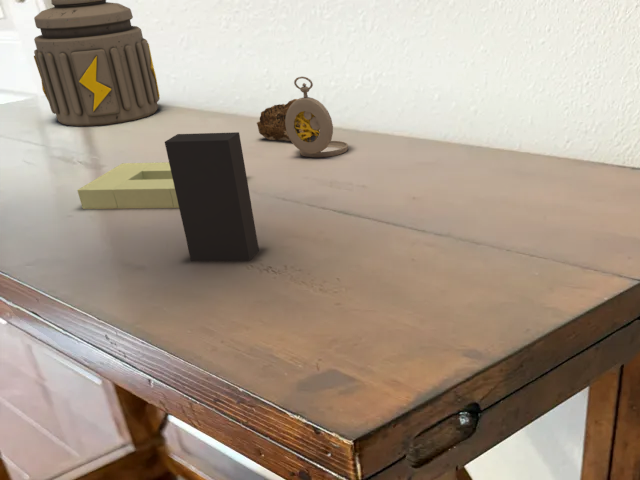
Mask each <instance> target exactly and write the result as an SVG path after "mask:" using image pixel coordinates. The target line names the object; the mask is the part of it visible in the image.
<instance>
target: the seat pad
mask: <svg viewBox="0 0 640 480" xmlns="http://www.w3.org/2000/svg"><path fill="white" fill-rule="evenodd" d="M76 191H77V194H78V197H79V201H80V204H81V207H82V209H83V210H109V209H110V210H112V209H113V210H115V209H119V210H120V209H122V210H123V209H179V205H178V200H177V196H176V191H175V187H174V182H173V178H172V173H171V169H170V164H169V161H168V162H167V161H166V162H128V163H127V162H125V163H120V164H119V165H117V166H116V167H114V168H111V169H110V170H109V171H107V172H105V173H103V174H101V175H100V176H98V177H97V178H95V179H93V180H91V181H90V182H89V183H86V184H85V185H82V187H80V188H78V189H77V190H76Z"/></svg>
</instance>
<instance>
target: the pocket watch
mask: <svg viewBox="0 0 640 480" xmlns="http://www.w3.org/2000/svg"><path fill="white" fill-rule="evenodd" d="M300 79H304V80H306V81H308V82H309V83H310V85H309V86H307V83H306V82H303V83H302V84H301V87H300V86H299V85H298V83H297V82H298V80H300ZM293 84H294V86H295V88H297V89H298V90H300V92H301V93H303V97H299V98H296V99H297V100H296V101H294V102H293V103H292V104H291V105H290V107H289V109H288V111H287V113H286V118H285V125H286V131H287V134H288V136H289V139H290V140H291V141H290V142H291V143H292V145H293V146H294V147H295V148H296V149H298V151H299V154H300V155H301V156H303V157H305V158H330V157H336V156H339V155H342V154H344V153H346V152H347V151H348V150H349V144H348V143H347V142H345V141H340V140H332V138H333V134H334V124H333V120H332V117H331V115H330V112H329V111H328V109H327V107H325V105H324V104H323V103H322V102H321V101H319V100H318V99H315V98H313V97H309V96H308V93H309V92H310V90H311V89H312V88H313V86H314V83H313V81H312V80H311V79H310V78H309V77H307V76H298V77H296V78H295V79H294V81H293ZM299 117H300V118H301V119H300V118H299ZM298 119H299V120H298ZM297 121H298V122H299V123H301V125H300V124H299V123H297ZM298 124H299V125H300V126H298ZM303 124H304V125H303ZM305 125H306V126H305ZM300 129H303V130H300ZM299 130H300V131H305V132H302V133H300V132H299ZM316 130H317V131H316ZM304 135H305V136H304ZM313 135H315V138H314V140H311V139H309V138H311V137H313ZM327 148H338V149H335V150H334V149H333V150H328V151H325V150H326V149H327Z"/></svg>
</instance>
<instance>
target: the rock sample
mask: <svg viewBox="0 0 640 480" xmlns="http://www.w3.org/2000/svg"><path fill="white" fill-rule="evenodd" d="M297 99H298V98H294V99H291V100H289V101H288V102H286V103H282V104H281V103H280V104H273V105H272V106H270V107H265V109H264V110H262V111H261V112H260V115H259V121H257V122H256V126H257V129H258V133H259V135H260V136H262V137H264V138H266V139H267V140H270V141H285V142H286V141H287V142H288V141H289V142H291V140H290V139H289V136H288V134H287V131H286V125H285V118H286V113H287V111H288V109H289V107H290V105H291V104H292V103H293V102H294V101H296V100H297ZM299 118H300V117H299ZM300 119H301V118H300ZM298 120H299V119H298ZM297 123H299V122H298V121H297ZM299 124H300V125H301V123H299ZM299 124H298V126H300V125H299ZM303 125H304V124H303ZM305 126H306V125H305ZM300 130H303V129H300ZM300 130H299V132H300V133H302V132H305V131H300ZM316 131H317V130H316ZM304 136H306V135H304Z"/></svg>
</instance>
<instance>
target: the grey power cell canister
mask: <svg viewBox="0 0 640 480" xmlns="http://www.w3.org/2000/svg"><path fill="white" fill-rule="evenodd" d="M50 2H51V3H50V4H51V5H52V6H53V7H50V8H47V9H43V10H41V11H40V12H39V13H37V15H35V16H34V18H33V19H34V25H35V28H36V29H40V30H39V31H40V33H41V34H40V35H37V36H35V37H34V39H33V42H34V44H35V47H36V49H35V50H33V53H34V55H33V60H34V62H35V65H36V68H37V71H38V74H39V77H40V80H41V89H42V92H43V94H44V95H45V98H46V99H47V102H48V104H49V108H50V111H51V113H52V114H54V115H55V116H56V119H57V121H58V123H60V124H62V125H65V126H71V127H95V126H97V127H98V126H106V125H108V126H109V125H115V124H122V123H127V122H132V121H137V120H140V119H144V118H147V117H149V116H152V115H154V114H155V113H156V112H157V111H158V109H159V104H158V102H159V101H160V96H161V95H160V91H159V85H158V80H157V75H156V71H155V67H154V63H153V62H154V61H153V58H152V53H151V47H150V44H149V42H148V40H147V39H146V38H144V37H143V32H142V31H143V30H142V29H141V28H140V27H139V26H137V25H132V22H131V20H133V18H134V16H133V13H132V10H131V8H130V7H127V6H126V5H123V4H121V3H118V2H109V1H107V0H51V1H50Z"/></svg>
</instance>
